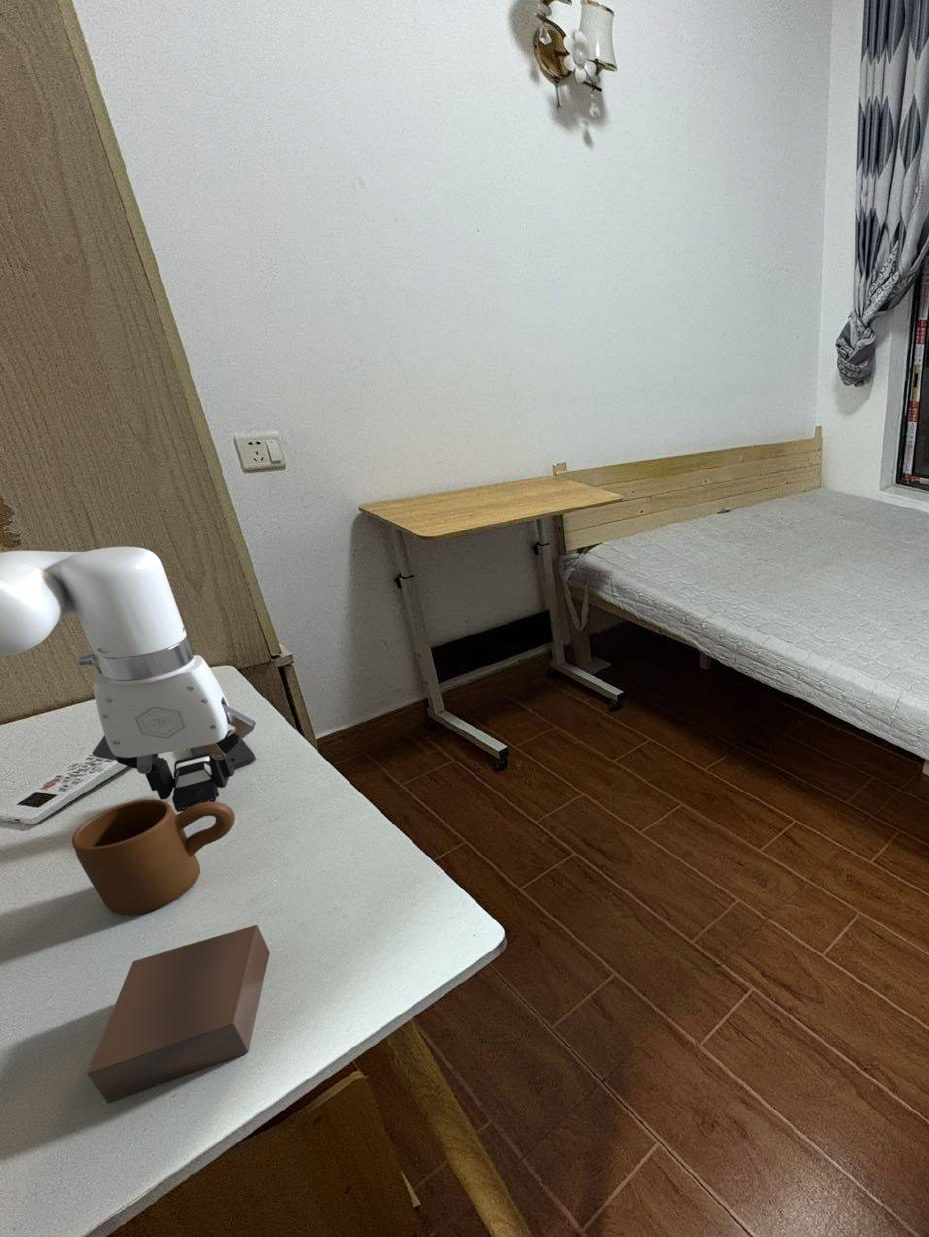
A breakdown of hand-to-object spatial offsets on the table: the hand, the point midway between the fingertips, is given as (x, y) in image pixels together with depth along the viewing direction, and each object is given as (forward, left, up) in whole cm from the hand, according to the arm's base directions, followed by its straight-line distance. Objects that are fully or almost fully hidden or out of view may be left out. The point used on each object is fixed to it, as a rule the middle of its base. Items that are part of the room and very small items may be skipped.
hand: (196, 785), depth 83 cm
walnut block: (+6, -34, -3) cm, 35 cm away
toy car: (0, 0, -1) cm, 1 cm away
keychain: (0, +11, -3) cm, 12 cm away
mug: (+1, -14, -3) cm, 14 cm away
